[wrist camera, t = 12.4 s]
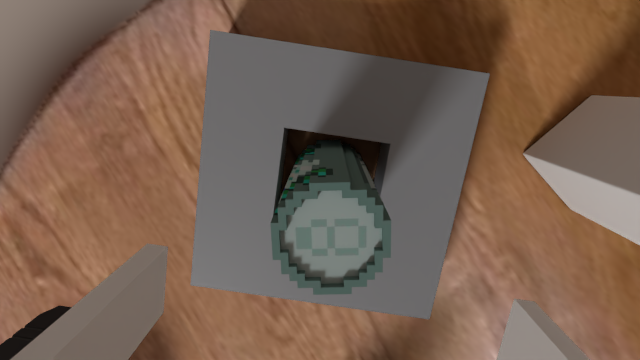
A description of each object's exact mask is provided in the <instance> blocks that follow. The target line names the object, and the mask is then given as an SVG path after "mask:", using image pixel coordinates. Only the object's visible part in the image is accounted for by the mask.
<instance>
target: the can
mask: <svg viewBox="0 0 640 360" xmlns="http://www.w3.org/2000/svg"><path fill="white" fill-rule="evenodd" d="M270 225H271V241H272V256H273V260H281V274H289V280H290V281H297V286H298V288H313V295H328V294H352V287H367V280H375V273H376V272H383V258H391V219H390V216H389V214H388V212H387V210H386V208H385V206H384V204H383V201H382V199H381V197H380V195H379V193H378V191H377V189H376V187H375V184H374V182H373V180H372V178H371V176H370V174H369V172H368V169H367V167H366V165H365V163H364V162H363V160H362V158H361V155H360V153H356V151H355V148H351V146H350V144H341V140H340V139H339V140H317V142H316V145H307V148H306V150H303V151H302V154H300V155H298V157H297V160H296V162H295V164H294V166H293V168H292V171H291V173H290V176H289V178H288V181H287V183H286V186H285V188H284V191H283V193H282V196H281V198H280V201H279V203H278V206H277V208H276V210H275V213H274V215H273V218H272V220H271V223H270Z"/></svg>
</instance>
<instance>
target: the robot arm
mask: <svg viewBox="0 0 640 360" xmlns="http://www.w3.org/2000/svg"><path fill="white" fill-rule="evenodd" d="M167 252H168V247H167V246H160V245H153V244H146V245H145V246H144V247H143V248H142V249H141V250H139V251H138V252H137V253H136V254H135V255H133V256H132V257H131V258H130V259H129V260H127V261H126V262H125V263H124V264H123V265H122V266H120V267H119V268H118V269H117V270H116V271H114V272H113V273H112V274H111V275H110V276H109V277H107V278H106V279H105V280H104V281H103V282H101V283H100V284H99V285H98V286H97V287H96V288H94V289H93V290H92V291H91V292H90V293H88V294H87V295H86V296H85V297H84V298H82V299H81V300H80V301H79V302H78V303H77V304H75V305H74V306H73V307H65V306H57V307H55V308H53V309H51V310H49V311H46V312H44V313H42V314H40V315H38V316H37V317H36V318H34V319H33V320H32V321H31V322H29V323H28V324H27V325H25V328H22V329H20V330H19V331H18V332H16V333H15V334H14V335H13V337H12V338H9V339H7V340H6V341H5V342H4V343H2V344H1V345H0V360H128V359H129V358H130V356H131V355H132V354H133V352H134V351H135V350H136V348H137V347H138V346H139V344H140V343H141V342H142V340H143V339H144V338H145V336H146V335H147V334H148V332H149V331H150V330H151V328H152V327H153V326H154V324H155V323H156V322H157V320H158V319H159V318H160V316H161V315H162V314H163V312H164V297H165V282H166V267H167ZM497 360H590V359H589V358H588V357H587V356H586V355H585V354H584V353H583V352H582V351H581V350H580V349H579V348H578V346H577V345H576V344H575V343H574V342H573V341H572V340H571V339H570V338H569V337H568V336H567V335H566V334H565V333H564V332H563V331H562V330H561V329H560V328H559V327H558V326H557V325H556V324H555V323H554V322H553V320H552V319H551V318H550V317H549V316H548V315H547V314H546V313H545V312H544V311H543V310H542V309H541V308H540V307H539V306H538V305H537V304H536V303H535V302H534V301H527V300H520V299H514V301H513V305H512V308H511V312H510V315H509V319H508V322H507V326H506V329H505V332H504V336H503V339H502V343H501V346H500V350H499V353H498V357H497Z"/></svg>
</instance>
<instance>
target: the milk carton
mask: <svg viewBox="0 0 640 360" xmlns="http://www.w3.org/2000/svg"><path fill="white" fill-rule="evenodd" d="M523 155H524V156H525V158H526V159H527V160H528V161H529V162H530V163H531V165H532V166H533V167H534V168H535V169H536V170H537V171H538V173H539V174H540V175H541V176H542V177H543V178H544V180H545V181H546V182H547V183H548V184H549V185H550V186H551V188H552V189H553V190H554V191H555V192H556V193H557V194H558V196H559V197H560V198H561V199H562V200H563V201H564V203H565V204H566V205H567V206H568V207H569V208H570V209H571V210H573V211H575V212H577V213H579V214H581V215H583V216H585V217H586V218H588V219H590V220H592V221H594V222H596V223H598V224H600V225H602V226H604V227H606V228H608V229H610V230H611V231H613V232H615V233H617V234H619V235H621V236H623V237H625V238H627V239H629V240H631V241H633V242H635V243H636V244H638V245H640V97H620V96H598V95H591V96H590V97H589V98H588V99H586V100H585V101H584V102H583V103H582V104H580V105H579V106H578V107H577V108H576V109H575V110H573V111H572V112H571V113H570V114H569V115H568V116H566V117H565V118H564V119H563V120H562V121H560V122H559V123H558V124H557V125H556V126H555V127H553V128H552V129H551V130H550V131H549V132H548V133H546V134H545V135H544V136H543V137H542V138H540V139H539V140H538V141H537V142H536V143H535V144H533V145H532V146H531V147H530V148H529V149H527V150H526V151H525V152H524V153H523Z"/></svg>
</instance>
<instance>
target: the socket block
mask: <svg viewBox="0 0 640 360" xmlns="http://www.w3.org/2000/svg"><path fill="white" fill-rule="evenodd" d="M489 75H490V74H489V73H483V72H477V71H470V70H464V69H457V68H451V67H444V66H438V65H432V64H425V63H419V62H412V61H406V60H400V59H393V58H387V57H380V56H374V55H368V54H361V53H355V52H348V51H342V50H335V49H329V48H323V47H316V46H310V45H303V44H297V43H291V42H284V41H278V40H271V39H265V38H259V37H252V36H246V35H239V34H233V33H227V32H220V31H214V30H210V41H209V54H208V67H207V80H206V93H205V106H204V119H203V131H202V144H201V157H200V170H199V183H198V196H197V209H196V222H195V235H194V248H193V261H192V274H191V285H193V286H200V287H207V288H214V289H221V290H228V291H235V292H242V293H249V294H255V295H262V296H269V297H276V298H283V299H290V300H297V301H304V302H311V303H318V304H325V305H332V306H339V307H346V308H353V309H360V310H367V311H374V312H381V313H388V314H395V315H402V316H409V317H416V318H423V319H430V315H431V311H432V307H433V303H434V299H435V295H436V291H437V287H438V283H439V279H440V275H441V271H442V266H443V262H444V258H445V254H446V250H447V246H448V242H449V238H450V234H451V230H452V226H453V222H454V218H455V214H456V209H457V205H458V201H459V197H460V193H461V189H462V185H463V181H464V177H465V173H466V169H467V165H468V161H469V157H470V152H471V148H472V144H473V140H474V136H475V132H476V128H477V124H478V120H479V116H480V112H481V108H482V104H483V99H484V95H485V91H486V87H487V83H488V79H489ZM289 128H290V129H297V130H303V131H310V132H316V133H323V134H330V135H336V136H343V137H349V138H356V139H363V140H369V141H376V142H381V146H380V151H379V156H378V162H377V167H376V172H375V178H374V184H375V187H376V189H377V191H378V193H379V195H380V197H381V199H382V201H383V204H384V206H385V208H386V210H387V212H388V214H389V216H390V219H391V258H383V272H376V273H375V280H367V287H352V294H328V295H313V288H298V286H297V281H290V280H289V274H281V260H273V256H272V241H271V225H270V223H271V220H272V218H273V215H274V213H275V210H276V208H277V206H278V203H279V201H280V193H281V186H282V178H283V170H284V163H285V155H286V147H287V140H288V132H289Z"/></svg>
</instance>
